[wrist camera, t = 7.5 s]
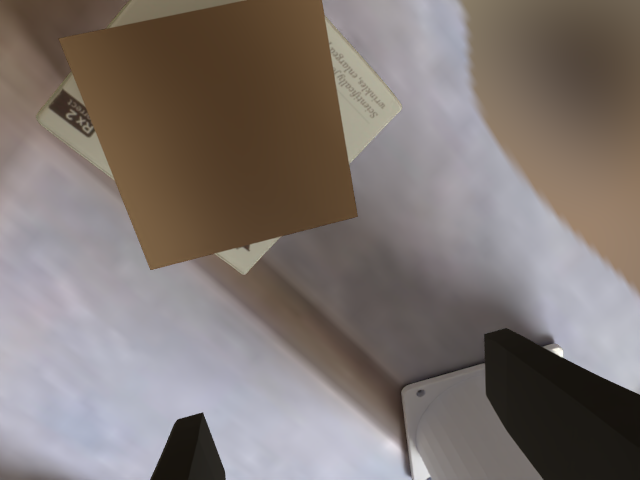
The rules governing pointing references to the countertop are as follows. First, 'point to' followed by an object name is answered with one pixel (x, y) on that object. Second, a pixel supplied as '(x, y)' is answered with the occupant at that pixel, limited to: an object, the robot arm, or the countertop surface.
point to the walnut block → (218, 124)
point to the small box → (150, 3)
